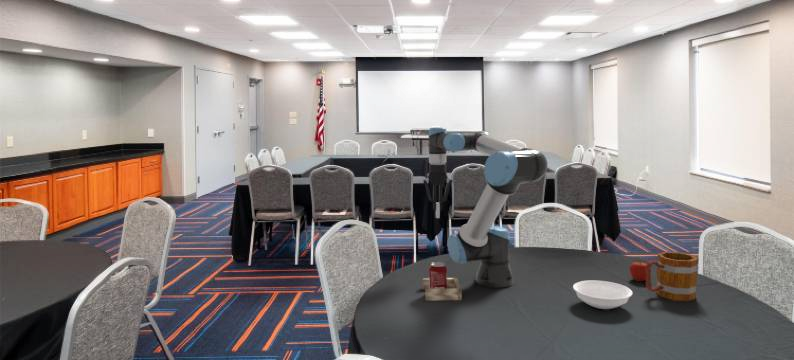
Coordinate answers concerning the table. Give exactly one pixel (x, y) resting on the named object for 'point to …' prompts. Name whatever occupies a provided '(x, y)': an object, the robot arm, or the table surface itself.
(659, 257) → the mug
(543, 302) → the table surface
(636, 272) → the apple
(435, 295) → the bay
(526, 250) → the table surface
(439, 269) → the soda can
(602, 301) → the bowl
